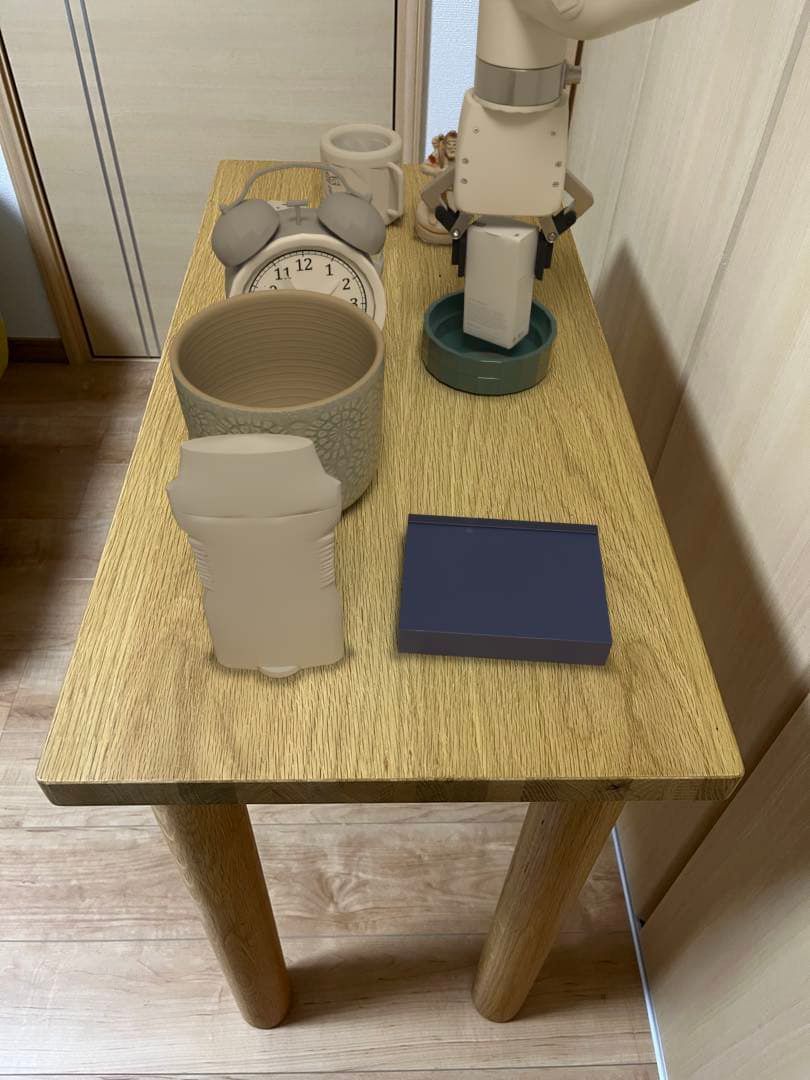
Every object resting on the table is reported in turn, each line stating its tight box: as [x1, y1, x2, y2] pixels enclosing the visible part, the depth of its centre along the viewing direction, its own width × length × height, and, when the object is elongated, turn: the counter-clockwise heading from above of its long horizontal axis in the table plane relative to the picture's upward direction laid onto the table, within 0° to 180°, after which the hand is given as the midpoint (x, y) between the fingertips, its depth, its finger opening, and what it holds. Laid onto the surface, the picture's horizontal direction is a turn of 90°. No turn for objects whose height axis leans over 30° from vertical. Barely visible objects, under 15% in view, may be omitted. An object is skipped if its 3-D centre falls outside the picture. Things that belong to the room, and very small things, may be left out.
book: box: [397, 513, 613, 667], centre depth 66 cm, size 16×12×3 cm
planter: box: [168, 289, 386, 513], centre depth 71 cm, size 17×17×15 cm
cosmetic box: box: [463, 215, 540, 349], centre depth 83 cm, size 6×4×12 cm
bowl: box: [421, 288, 559, 396], centre depth 89 cm, size 14×14×4 cm
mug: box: [319, 123, 405, 226], centre depth 109 cm, size 14×11×10 cm
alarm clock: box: [210, 161, 388, 333], centre depth 80 cm, size 16×9×22 cm, turn 102°
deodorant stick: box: [164, 434, 345, 679], centre depth 55 cm, size 11×4×22 cm, turn 93°
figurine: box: [414, 129, 467, 246], centre depth 104 cm, size 7×7×15 cm
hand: (499, 271), depth 83 cm, fingers closed on cosmetic box, 7 cm apart
